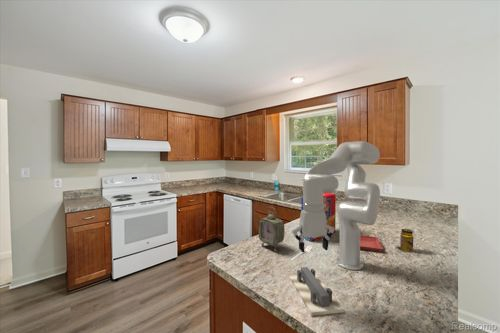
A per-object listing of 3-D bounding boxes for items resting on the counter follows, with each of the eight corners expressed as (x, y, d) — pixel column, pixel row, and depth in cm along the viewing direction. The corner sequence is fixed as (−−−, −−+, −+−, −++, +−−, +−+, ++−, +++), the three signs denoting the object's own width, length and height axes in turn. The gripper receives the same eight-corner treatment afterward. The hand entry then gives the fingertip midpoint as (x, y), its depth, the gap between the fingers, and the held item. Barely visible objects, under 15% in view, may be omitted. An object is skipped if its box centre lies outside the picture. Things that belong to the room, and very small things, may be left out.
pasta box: (311, 242, 136) (311, 198, 135) (301, 238, 143) (301, 197, 142) (335, 232, 153) (335, 194, 152) (325, 229, 160) (325, 192, 159)
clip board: (289, 277, 97) (289, 266, 96) (314, 275, 98) (314, 263, 98) (311, 316, 73) (311, 301, 73) (344, 312, 74) (344, 297, 74)
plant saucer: (383, 254, 119) (383, 248, 119) (347, 249, 126) (348, 244, 126) (377, 242, 136) (377, 237, 136) (346, 238, 143) (346, 233, 142)
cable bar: (300, 276, 95) (300, 267, 95) (307, 275, 96) (307, 267, 95) (321, 307, 75) (321, 296, 75) (329, 306, 76) (329, 295, 76)
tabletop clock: (258, 245, 132) (258, 205, 131) (268, 241, 138) (268, 203, 137) (275, 253, 121) (275, 209, 120) (286, 249, 127) (285, 207, 126)
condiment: (414, 254, 118) (415, 232, 118) (396, 250, 122) (396, 230, 122) (412, 249, 125) (413, 228, 124) (395, 246, 129) (395, 226, 128)
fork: (288, 260, 114) (288, 257, 114) (307, 248, 128) (307, 245, 128) (293, 262, 112) (293, 259, 112) (312, 249, 126) (312, 246, 126)
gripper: (328, 204, 89) (329, 244, 90) (289, 206, 87) (289, 247, 88) (338, 208, 82) (339, 252, 83) (295, 211, 79) (296, 256, 80)
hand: (313, 249), depth 85 cm, fingers open, 9 cm apart
